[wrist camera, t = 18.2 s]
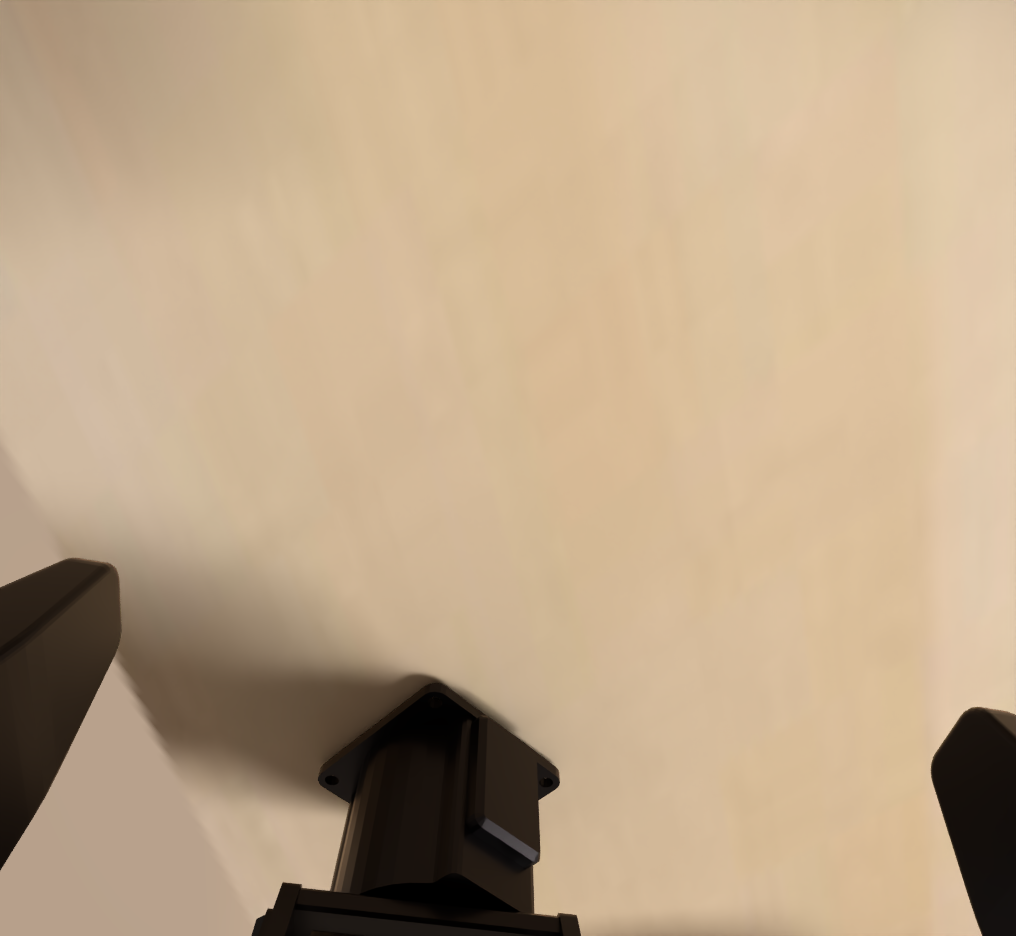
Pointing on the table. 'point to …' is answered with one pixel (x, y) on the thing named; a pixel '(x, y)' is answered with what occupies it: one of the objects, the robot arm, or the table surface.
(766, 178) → the table surface
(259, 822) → the table surface
